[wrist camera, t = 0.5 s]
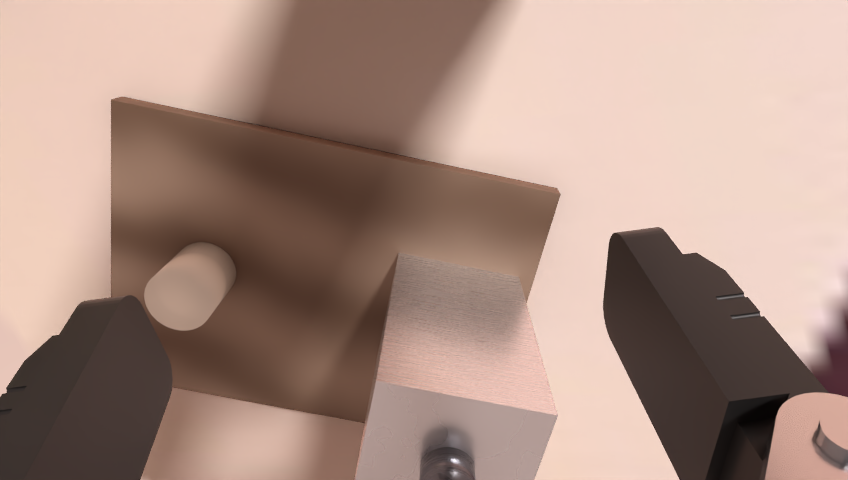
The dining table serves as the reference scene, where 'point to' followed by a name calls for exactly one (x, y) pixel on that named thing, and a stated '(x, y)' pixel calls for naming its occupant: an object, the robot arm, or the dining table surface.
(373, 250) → the walnut board
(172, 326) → the beige cylinder
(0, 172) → the dining table surface
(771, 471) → the robot arm
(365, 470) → the steel cover
